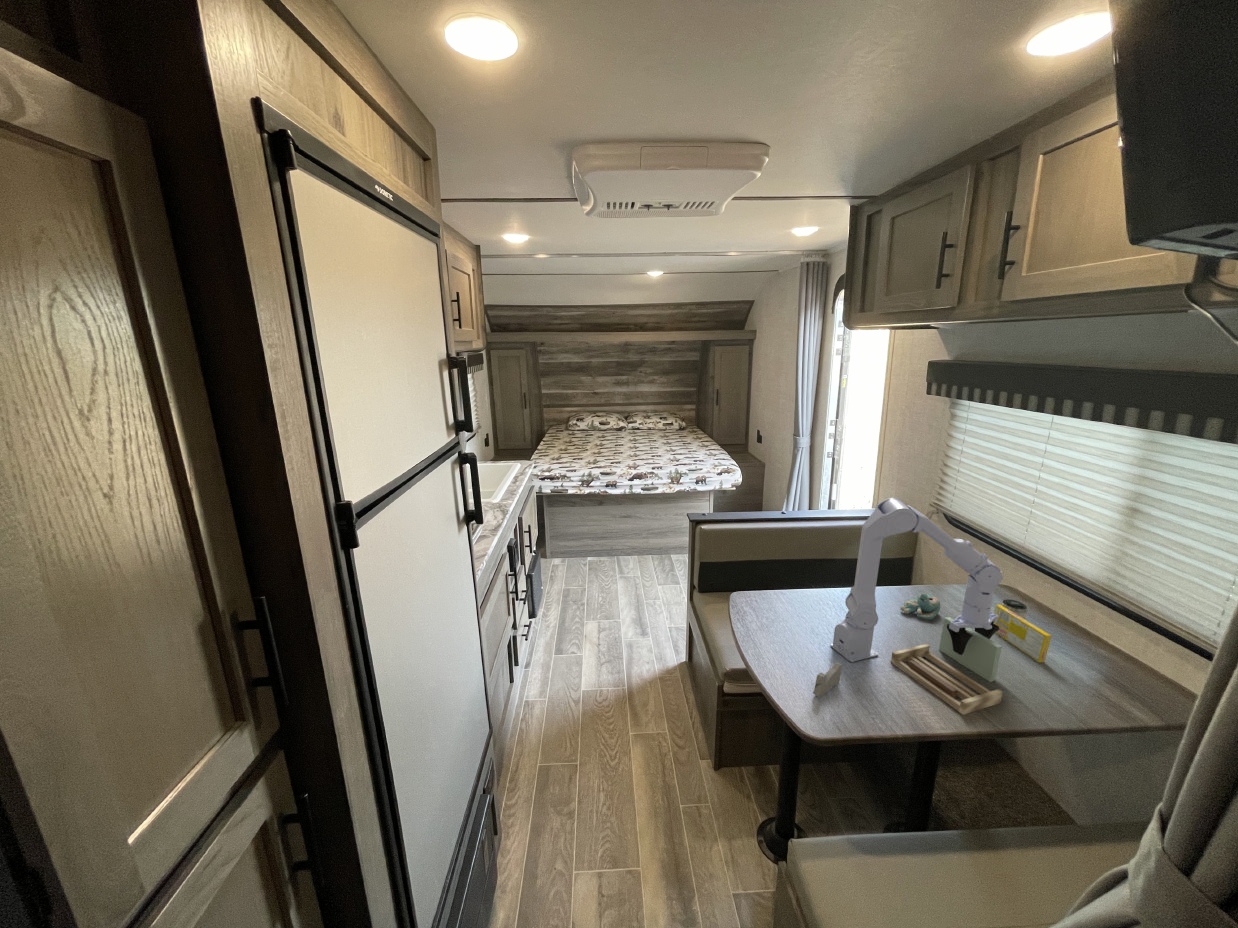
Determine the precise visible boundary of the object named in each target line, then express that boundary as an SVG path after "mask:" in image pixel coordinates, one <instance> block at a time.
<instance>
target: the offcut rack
mask: <svg viewBox="0 0 1238 928" xmlns="http://www.w3.org/2000/svg"><path fill="white" fill-rule="evenodd" d="M930 646H931V645H929V644H927V643H923V644H919V645H917V646H912V647H907V648H904V649H899V650H895V651H892V652H891V658H890V663H891V664H893V665H894V666H896V667H897V668H898V669H900V670H901V671H903V672H904V673H905V674H907V675H908V676H909V677H910V678H912V679H913V680H915V681H916V682H918V684H920V685H922V686H923V687H924V688H926V689H927V690H928V691H930V692H931V693H933V694H934V695H935V696H937V697H938V698H939V699H941V700H942V701H944V702H945V703H946V704H948V705H949V706H951V707H952V708H953V709H955V710H956V711H957V712H959V713H960V714H961V715H962V716H963V715H966V714H969V713H972V712H976V711H979V710H982V709H985V708H989V707H992V706H995V705H999V704H1001V701H1002V697H1003V690H1000V689H999V688H998V689H995V690H989V689H988V688H986V687H984V686H983V685H981V683H978V682H977V681H975V680H974V679H972V678H970V676H967V675H965V674H964V673H963V672H961V671H960V670H958V669H957V668H955V667H953V666H952V665H950V664H949V663H947V662H946V661H944V660H943V659H941V658H939V657H938V656H937V655H935V654H934V653H932V652H930ZM924 657H925V658H926V659H927V660H926V659H924ZM910 660H912V661H915V662H916V663H918V664H919V665H922V666H923V667H925V668H926V669H928V670H929V671H931V672H932V673H933V674H935V675H936V676H938V677H939V678H941V679H942V680H944V681H945V682H946V683H948V684H949V685H951V686H952V687H954V688H955V689H957V696H956V697H958V698H959V699H960V701H958V700H956V699H955V698H952V697H951V696H950V695H948V694H947V693H945V692H944V691H943V690H941V689H940V688H938V687H937V686H936V685H934V684H933V683H931V682H930V681H929V680H927V679H926V678H924V677H923V676H921V675H920V674H919V673H917V672H916V671H914V670H913V669H912V668H910V667H909V665H907V663H909V661H910ZM928 660H929V661H930V662H929V661H928ZM905 662H907V663H905ZM931 662H932V663H933V664H932V663H931ZM934 664H935V665H937V666H938V667H939V668H941V669H943V670H944V671H946V672H947V673H948V674H949V675H952V676H953V677H955V678H956V679H958V680H959V681H961V682H962V683H963V684H965V685H966V686H968V687H970V688H971V689H973V690H974V691H975V692H977V693H979V694H977V693H975V692H974V691H972V690H971V689H969V688H968V687H966V686H965V685H963V684H962V683H960V682H958V681H957V680H956V679H954V678H952V676H949V675H948V674H947V673H945V672H944V671H942V670H941V669H939V668H938V667H937V666H935V665H934Z"/></svg>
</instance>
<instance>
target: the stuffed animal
mask: <svg viewBox="0 0 1238 928" xmlns="http://www.w3.org/2000/svg"><path fill="white" fill-rule="evenodd" d="M900 610H901V611H902V612H904V614H906V615H907V614H911V613H916V614H917V615H916V617H917V618H919V619H922V620H933V619H934V618H935V617H936V616H937V615H938V613H940V610H941V601H940V600H939V599H938V598H937V597H935V596H934V595H932V594H931V593H924V592H923V593H921V594H920V595H918V596H917V598H908V599H906V600H905V601H904V602H903V605H901V606H900Z"/></svg>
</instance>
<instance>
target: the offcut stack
mask: <svg viewBox="0 0 1238 928" xmlns="http://www.w3.org/2000/svg"><path fill="white" fill-rule="evenodd" d="M908 666H909V667H910V668H912V669H913V670H914V671H916V672H917V673H919V674H920V675H921V676H923V677H924V678H926V679H927V680H929V681H930V682H931V683H933V684H934V685H936V686H937V687H938V688H940V689H941V690H943V691H944V692H945V693H947V694H948V695H950V696H951V697H952V698H954V699H955V698H957V697H958V696H957V689H955V688H954V687H952V686H951V685H949V684H948V683H946V682H945V681H944V680H942V679H941V678H939V677H938V676H936V675H935V674H933V673H932V672H931V671H929V670H928V669H926V668H925V667H923V666H922V665H919V664H918V663H916V662H915V661H912V660H910V661H909V662H908Z"/></svg>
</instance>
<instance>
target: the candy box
mask: <svg viewBox="0 0 1238 928" xmlns="http://www.w3.org/2000/svg"><path fill="white" fill-rule="evenodd" d="M993 613H994V614H996V615H998V620H997V622H996V623H993V624H995V625H997V626H999V630H998V631H997V632H995V633H994V634H996V635H998V636H1000V637H1001V638H1002V639H1004V640H1006V642H1008V643H1010V644H1011V645H1013V646H1014V647H1016V648H1017V649H1019V650H1020V651H1021V652H1023V653H1024V654H1026V655H1028V656H1029V657H1030V658H1031V659H1033V660H1034V661H1035V662H1037V663H1045V662H1046V658H1047V654H1048V650H1049V647H1050V644H1051V639H1052V635H1051V634H1049V633H1048V632H1046V631H1045V630H1043V629H1041V628H1040V627H1038V626H1036V625H1035V624H1033V623H1031V622H1030V621H1028V620H1027V619H1026V620H1025V619H1023V618H1022V617H1020V616H1018V615H1017V614H1015V613H1013V612H1012V611H1010V610H1008V609H1007V608H1005V607H1003V606H1002V605H1001V604H995V605H994V610H993Z"/></svg>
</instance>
